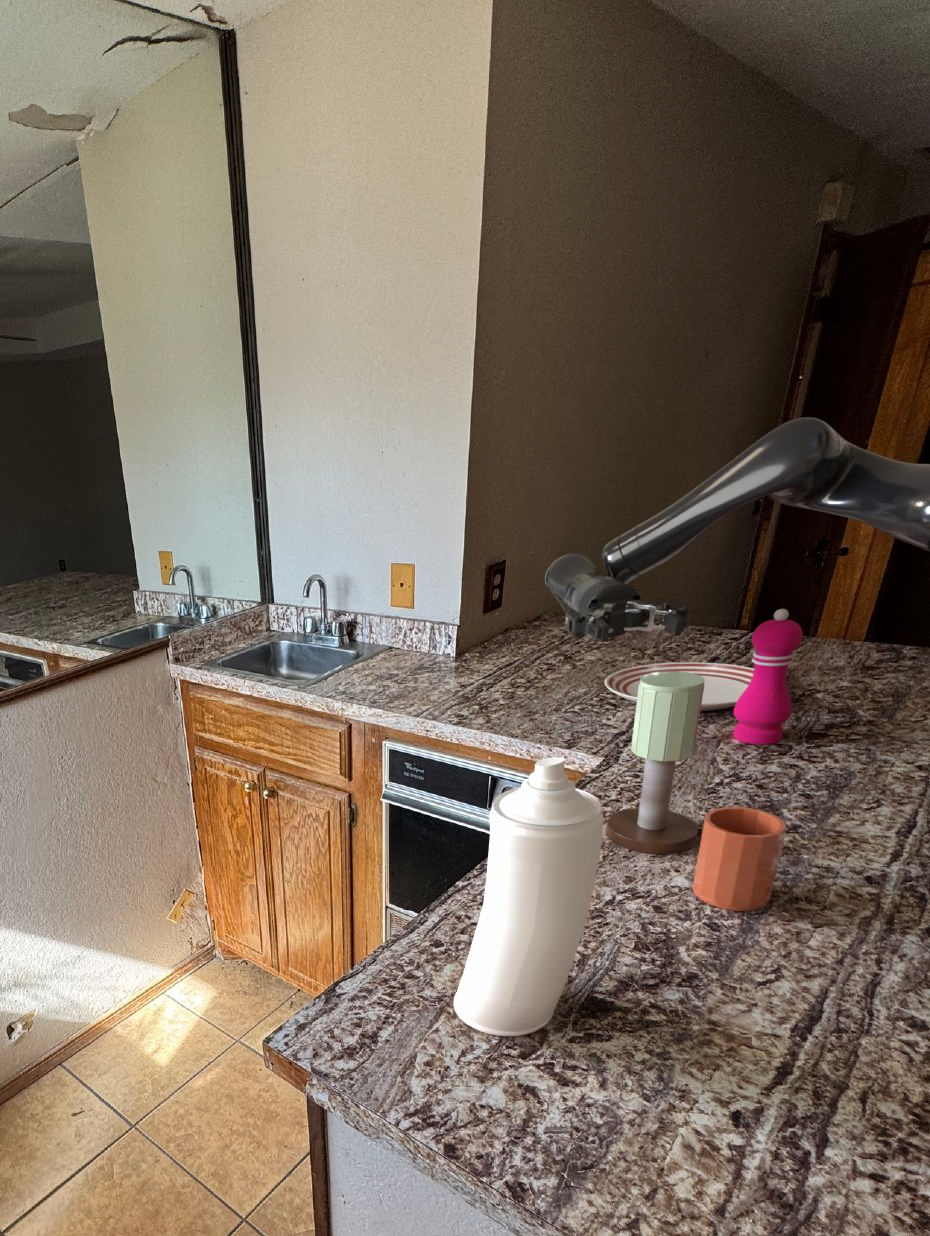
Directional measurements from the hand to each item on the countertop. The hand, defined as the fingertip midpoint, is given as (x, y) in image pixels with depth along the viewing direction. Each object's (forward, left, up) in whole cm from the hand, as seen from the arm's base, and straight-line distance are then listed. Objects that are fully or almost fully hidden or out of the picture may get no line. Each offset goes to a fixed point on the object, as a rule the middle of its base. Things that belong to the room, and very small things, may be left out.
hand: (642, 631), depth 94 cm
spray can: (+41, +27, -24) cm, 54 cm away
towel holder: (+6, +10, -24) cm, 26 cm away
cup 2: (+10, +24, -24) cm, 35 cm away
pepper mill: (-31, -4, -24) cm, 40 cm away
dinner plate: (-40, -24, -24) cm, 53 cm away
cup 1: (+6, +10, -12) cm, 16 cm away
